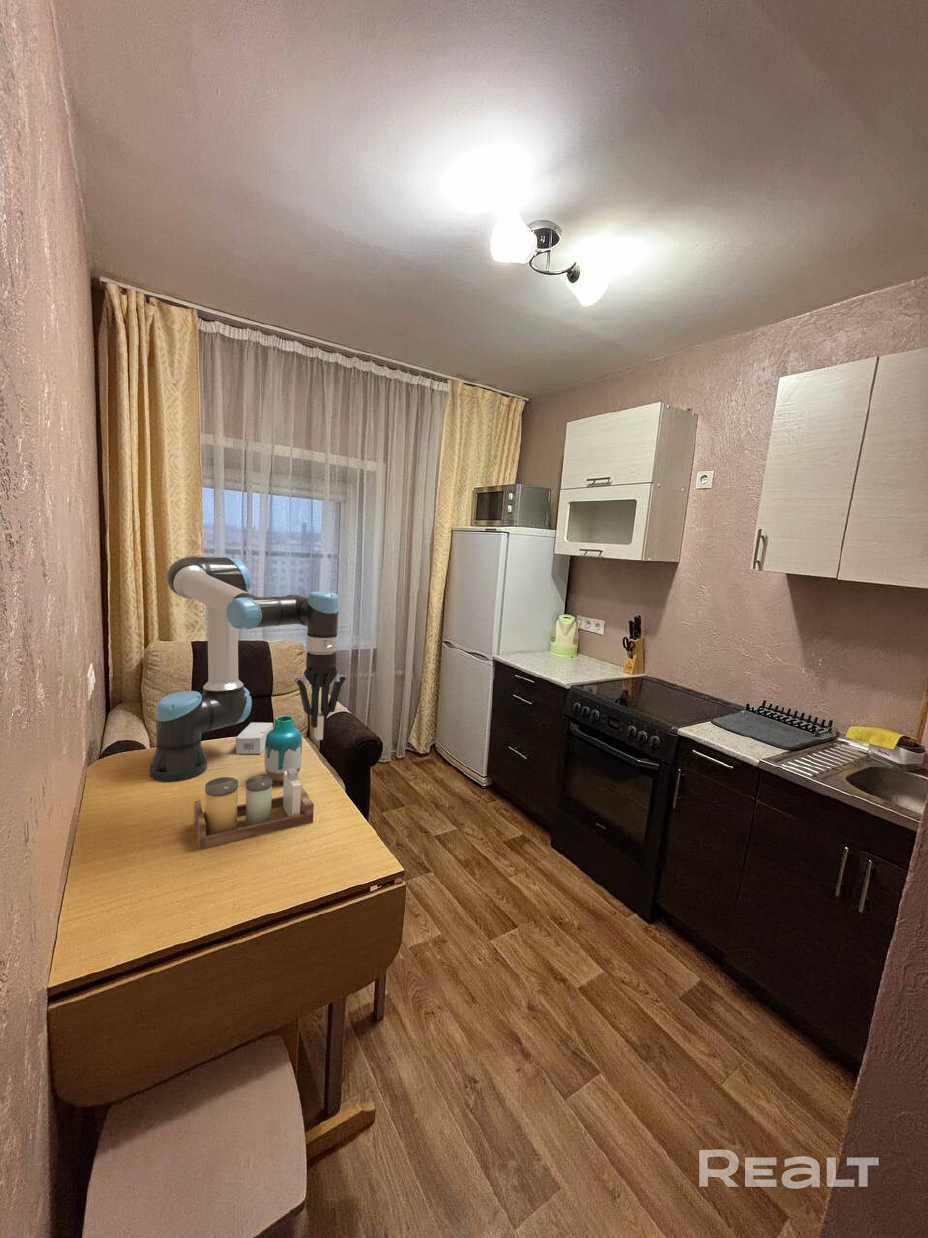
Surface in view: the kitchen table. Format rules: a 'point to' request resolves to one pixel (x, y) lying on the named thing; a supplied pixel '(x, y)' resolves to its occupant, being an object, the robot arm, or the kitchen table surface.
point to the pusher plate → (291, 792)
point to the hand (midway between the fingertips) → (318, 738)
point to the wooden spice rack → (252, 830)
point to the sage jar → (258, 800)
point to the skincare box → (253, 738)
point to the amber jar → (221, 805)
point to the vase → (282, 748)
